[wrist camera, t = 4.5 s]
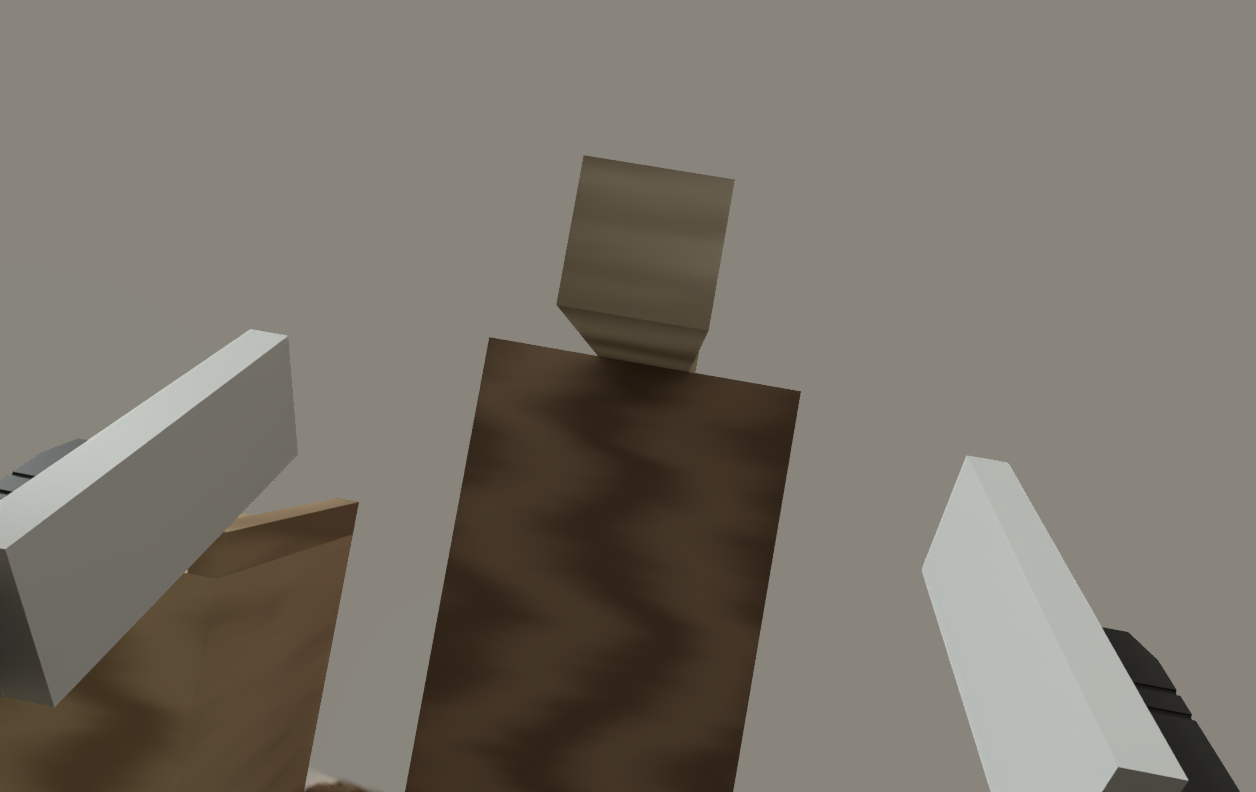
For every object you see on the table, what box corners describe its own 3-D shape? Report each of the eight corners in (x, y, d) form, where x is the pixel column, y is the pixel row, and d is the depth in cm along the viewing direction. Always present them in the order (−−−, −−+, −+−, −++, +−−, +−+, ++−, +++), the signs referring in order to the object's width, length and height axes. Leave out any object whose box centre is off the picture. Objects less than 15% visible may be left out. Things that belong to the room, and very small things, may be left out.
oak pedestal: (-156, 1182, 25) (-10, 487, 25) (96, 950, 36) (192, 470, 36) (87, 1239, 24) (226, 532, 25) (266, 987, 35) (358, 501, 36)
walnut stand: (341, 1136, 29) (489, 337, 30) (454, 885, 45) (548, 370, 46) (662, 1209, 28) (800, 391, 29) (661, 929, 44) (751, 406, 45)
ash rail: (609, 379, 44) (623, 300, 44) (688, 393, 44) (702, 313, 44) (535, 300, 18) (570, 109, 18) (730, 334, 18) (763, 140, 18)
